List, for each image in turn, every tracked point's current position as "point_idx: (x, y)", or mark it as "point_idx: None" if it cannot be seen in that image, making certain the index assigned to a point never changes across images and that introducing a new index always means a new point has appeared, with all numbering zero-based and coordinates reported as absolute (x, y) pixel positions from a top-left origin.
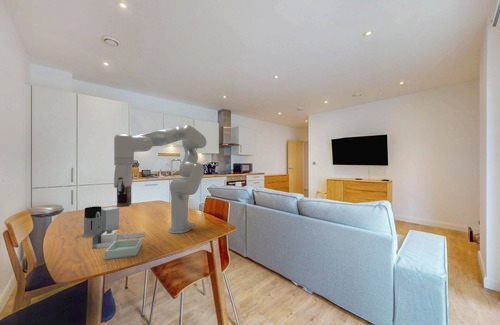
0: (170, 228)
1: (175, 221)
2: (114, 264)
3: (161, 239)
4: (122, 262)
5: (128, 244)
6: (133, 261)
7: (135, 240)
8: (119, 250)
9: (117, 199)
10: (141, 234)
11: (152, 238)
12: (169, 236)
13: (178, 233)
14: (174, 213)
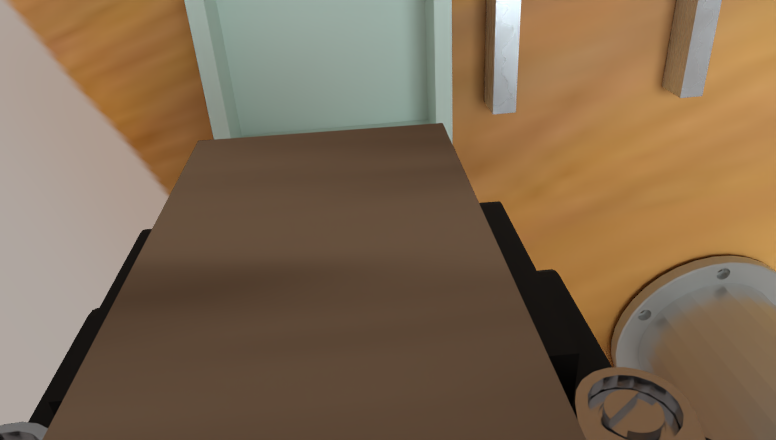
0: (742, 275)
1: (694, 382)
2: (98, 34)
3: (534, 241)
4: (130, 83)
5: (428, 32)
6: (143, 156)
7: (434, 101)
8: (194, 46)
9: (154, 249)
10: (678, 68)
11: (586, 168)
12: (581, 284)
13: (612, 337)
14: (749, 436)
